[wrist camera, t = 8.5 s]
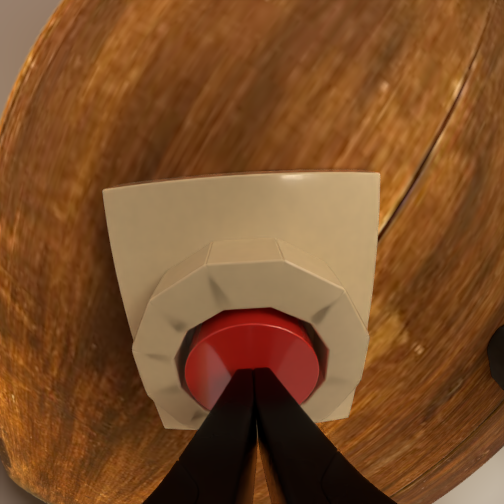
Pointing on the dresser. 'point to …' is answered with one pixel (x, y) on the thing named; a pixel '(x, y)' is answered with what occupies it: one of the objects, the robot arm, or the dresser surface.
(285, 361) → the button
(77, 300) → the dresser surface
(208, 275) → the button block
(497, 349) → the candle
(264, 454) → the robot arm
